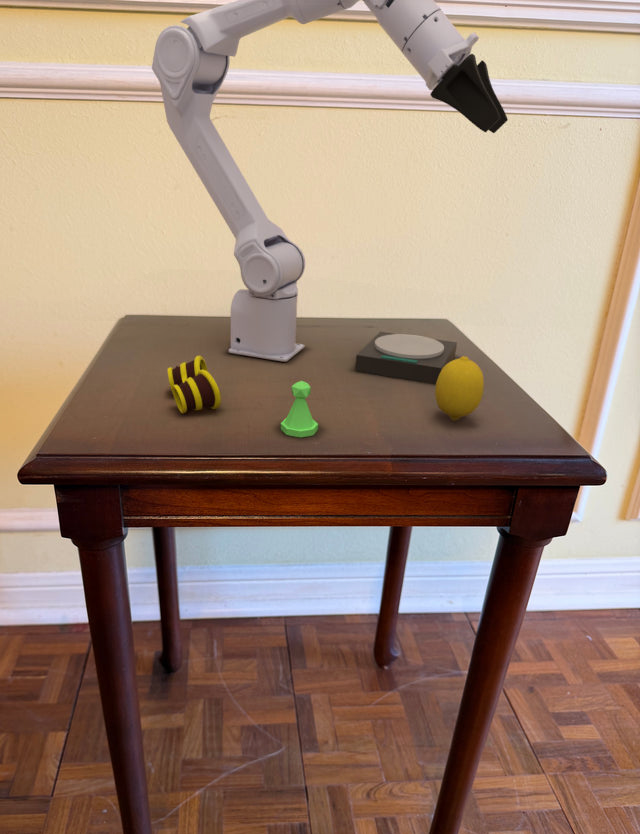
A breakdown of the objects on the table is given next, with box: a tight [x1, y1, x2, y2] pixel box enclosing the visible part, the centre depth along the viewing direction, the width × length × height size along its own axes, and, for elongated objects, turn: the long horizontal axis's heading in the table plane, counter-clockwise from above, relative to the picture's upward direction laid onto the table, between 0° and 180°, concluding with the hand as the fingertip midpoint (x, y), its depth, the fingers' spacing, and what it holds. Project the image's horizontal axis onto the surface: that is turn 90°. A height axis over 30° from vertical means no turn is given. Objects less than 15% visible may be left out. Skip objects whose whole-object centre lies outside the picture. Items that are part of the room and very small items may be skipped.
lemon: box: [434, 355, 485, 421], centre depth 81 cm, size 6×6×8 cm
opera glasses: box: [167, 355, 222, 414], centre depth 84 cm, size 10×5×5 cm, turn 15°
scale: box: [354, 331, 458, 385], centre depth 100 cm, size 12×13×3 cm
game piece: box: [280, 380, 319, 438], centre depth 78 cm, size 4×4×6 cm
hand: (497, 126), depth 79 cm, fingers open, 7 cm apart
